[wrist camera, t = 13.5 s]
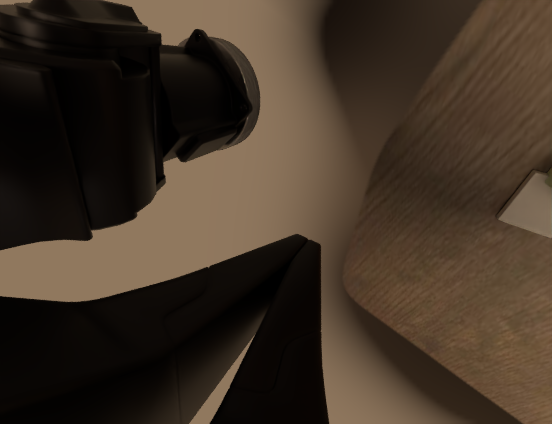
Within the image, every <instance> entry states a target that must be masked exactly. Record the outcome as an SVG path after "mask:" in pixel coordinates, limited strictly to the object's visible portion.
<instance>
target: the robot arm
mask: <svg viewBox="0 0 552 424" xmlns="http://www.w3.org/2000/svg"><path fill="white" fill-rule="evenodd" d="M199 35H200V37H201V40H200V41H199ZM244 105H246V107H247V110H245V109H244ZM252 110H253V107H252V104H251V102H250V100H249V99H248V97H247V96H246V94H245V93H244V91H243V90H242V88H241V86H240V85H239V83H238V82H237V80H236V79H235V77H234V76H233V74H232V73H231V71H230V70H229V68H228V67H227V65H226V63H225V62H224V60H223V59H222V57H221V56H220V54H219V53H218V51H217V50H216V48H215V47H214V45H213V43H212V42H211V40H210V39H209V37H208V36H207V34H206V33H205V32H204V31H203V30H200V29H195V30H194V31H193V33H192V34H191V36H190V37H189V39H188V41H187V42H186V44H185V45H184V47H181V46H170V45H162V43H161V33H157V32H154V31H151V30H148V27H147V26H145V25H142V23H141V22H140V21H139V19H138V17H137V16H136V14H135V12H134V10H133V9H132V7H129V6H126V5H122V4H117V3H113V2H108V1H103V0H33V1H32V2H31V3H16V4H14V5H0V250H4V249H8V248H12V247H17V246H21V245H26V244H31V243H35V242H41V241H53V240H79V241H81V240H82V241H88V240H90V239H92V237H93V236H92V232H91V230H100V229H104V228H109V227H113V226H118V225H121V224H124V223H126V222H128V221H131V220H133V219H135V218H136V217H137V212H138V211H140V210H141V209H143V208H144V207H145V206H146V205H148V204H149V203H151V201H152V200H153V198H154V196H155V195H156V192H157V191H158V190H159V189H160V188H161V187H162V186H163V185H164V184H165V183H166V179H165V175H164V167H163V162H165V161H168V160H170V159H173V158H176V157H178V159H179V160H180V161H181V162H187V161H190V160H193V159H195V158H198V157H200V156H203V155H206V154H208V153H211V152H213V151H216V150H219V149H220V148H221V147H222V146H223V145H224V144H225V143H226V142H227V141H228V140H229V139H231V138H232V137H233V136H234V135H235V134H236V132H237V128H236V127H237V126H238V125H239V124H240V123H241V122H242V121H243V120H244V119H245V118H246V117H247V116H248V115H250V114H251V112H252ZM255 333H256V334H255ZM254 335H255V336H254ZM253 336H254V338H253V340H252V342H251V344H250V346H249V348H248V350H247V352H246V354H245V356H244V358H243V361H242V362H241V364H240V367H239V369H238V371H237V373H236V375H235V377H234V379H233V381H232V383H231V385H230V388H229V389H228V391H227V393H226V395H225V397H224V399H223V401H222V403H221V405H220V407H219V408H218V410H217V412H216V414H215V415H214V417H213V419H212V421H211V422H210V424H329V419H328V412H327V404H326V396H325V388H324V379H323V369H322V348H321V245H320V244H319V243H317V242H314V241H312V240H308V239H307V238H306V237H304V236H301V235H299V234H295V235H292V236H289V237H287V238H284V239H281V240H279V241H276V242H273V243H271V244H268V245H265V246H262V247H260V248H257V249H254V250H252V251H249V252H246V253H244V254H241V255H238V256H236V257H233V258H230V259H228V260H225V261H222V262H220V263H217V264H214V265H211V266H210V267H209V268H208V267H206V268H203V269H201V270H198V271H195V272H192V273H189V274H186V275H183V276H180V277H177V278H174V279H171V280H167V281H164V282H160V283H157V284H153V285H149V286H146V287H143V288H138V289H135V290H131V291H127V292H124V293H120V294H116V295H112V296H109V297H105V298H100V299H96V300H90V301H81V302H60V301H48V300H37V299H26V298H14V297H13V298H12V297H2V296H0V424H189V423H190V422H191V420H192V419H193V417H194V416H195V415H196V413H197V412H198V411H199V409H200V408H201V406H202V405H203V404H204V403H205V401H206V400H207V399H208V397H209V396H210V394H211V393H212V392H213V390H214V389H215V388H216V386H217V385H218V384H219V382H220V381H221V380H222V378H223V377H224V375H225V374H226V373H227V371H228V370H229V369H230V367H231V366H232V365H233V363H234V362H235V360H236V359H237V358H238V356H239V355H240V354H241V352H242V351H243V350H244V348H245V347H246V346H247V344H248V343H249V341H250V340H251V339H252V337H253Z"/></svg>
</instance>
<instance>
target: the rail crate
mask: <svg viewBox="0 0 552 424" xmlns="http://www.w3.org/2000/svg"><path fill="white" fill-rule="evenodd" d="M496 217H497V219H498V220H500V221H503V222H505V223H508V224H511V225H514V226H517V227H520V228H523V229H525V230H528V231H531V232H534V233H537V234H540V235H543V236H545V237H548V238H551V239H552V167H551V169H550V170H549V171H548V172H547V173H544V172H540V171H537V170H533V171H532V172H531V173H530V174H529V176H528V177H527V178H526V179H525V181H524V182H523V183H522V184H521V186H520V187H519V188H518V189H517V191H516V192H515V193H514V194H513V196H512V197H511V198H510V199H509V201H508V202H507V203H506V204H505V206H504V207H503V208H502V209H501V211H500V212H499V213H498V215H497V216H496Z"/></svg>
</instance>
